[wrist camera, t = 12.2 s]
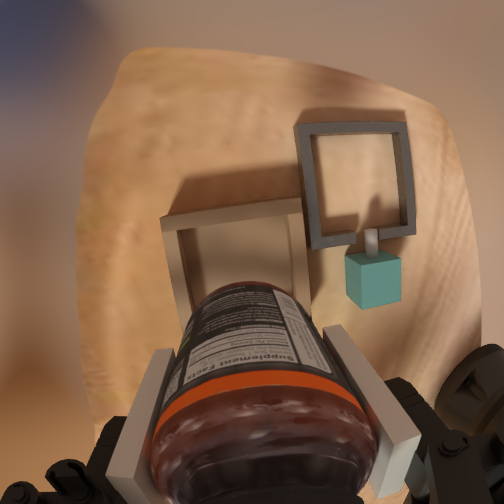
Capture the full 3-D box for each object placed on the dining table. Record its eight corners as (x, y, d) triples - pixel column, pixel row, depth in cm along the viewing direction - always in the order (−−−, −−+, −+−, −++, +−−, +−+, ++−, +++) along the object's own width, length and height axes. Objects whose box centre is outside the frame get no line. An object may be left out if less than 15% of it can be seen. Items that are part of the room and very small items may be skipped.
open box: (305, 314, 30) (312, 327, 27) (189, 330, 29) (185, 345, 26) (293, 196, 27) (301, 197, 24) (167, 214, 27) (159, 217, 24)
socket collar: (408, 232, 29) (416, 234, 27) (307, 246, 28) (311, 249, 27) (398, 124, 26) (405, 122, 25) (293, 127, 26) (296, 124, 24)
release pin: (381, 287, 29) (400, 300, 25) (346, 294, 29) (361, 309, 25) (380, 224, 28) (400, 230, 24) (342, 229, 28) (359, 236, 24)
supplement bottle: (304, 382, 15) (370, 574, 4) (191, 383, 15) (160, 588, 4) (314, 275, 14) (472, 466, 3) (183, 275, 14) (76, 499, 3)
